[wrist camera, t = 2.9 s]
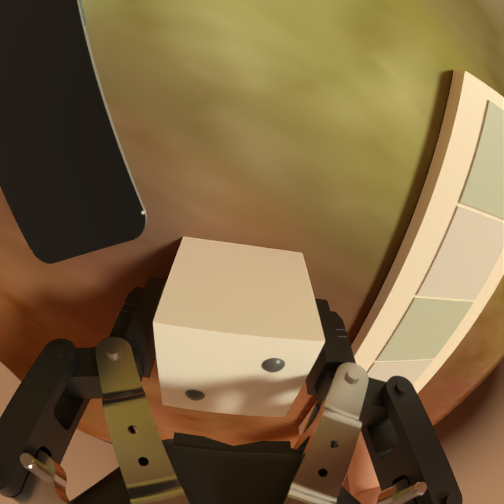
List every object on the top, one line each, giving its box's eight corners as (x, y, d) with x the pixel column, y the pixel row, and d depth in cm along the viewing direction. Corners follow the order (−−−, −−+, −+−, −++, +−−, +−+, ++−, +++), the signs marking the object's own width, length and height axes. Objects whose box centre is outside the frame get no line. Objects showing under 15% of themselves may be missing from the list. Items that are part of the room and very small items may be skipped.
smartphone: (40, 268, 13) (-38, 25, 5) (46, 260, 13) (-30, 24, 5) (154, 234, 12) (67, -66, 4) (158, 226, 12) (74, -61, 5)
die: (180, 323, 15) (162, 410, 10) (183, 235, 12) (151, 327, 8) (279, 335, 15) (288, 422, 11) (306, 252, 13) (332, 346, 8)
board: (298, 426, 21) (299, 435, 21) (453, 70, 8) (466, 70, 7) (379, 421, 22) (381, 429, 21) (544, 137, 9) (555, 142, 8)
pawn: (331, 428, 20) (345, 528, 12) (347, 409, 18) (368, 522, 11) (367, 425, 20) (386, 518, 13) (386, 406, 19) (412, 509, 11)
